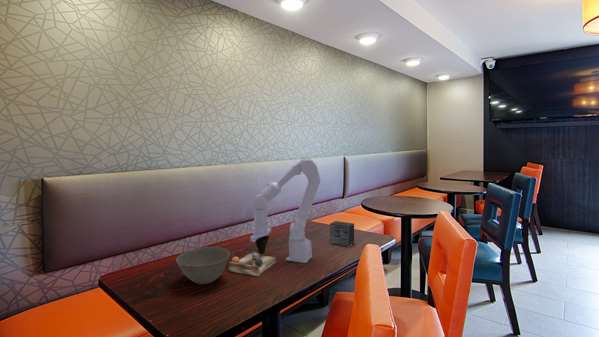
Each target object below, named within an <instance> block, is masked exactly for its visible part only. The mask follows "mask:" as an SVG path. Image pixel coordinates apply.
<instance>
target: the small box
mask: <svg viewBox="0 0 599 337" xmlns="http://www.w3.org/2000/svg"><path fill="white" fill-rule="evenodd" d="M329 225H330V226H329V228H330V229H329V230H330V231H329V233H330V236H329V240H330V243H333V244H332V245H334V244H338V245H337V246H340V245H344V246H343V247H346V246H350V245H351V244H353V243H354V244H355V223H354V222H353V223H352V222H345V221H337V220H335V221H333V222H330V224H329ZM354 244H353V245H354ZM350 247H351V246H350Z"/></svg>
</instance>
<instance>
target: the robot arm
mask: <svg viewBox="0 0 599 337" xmlns="http://www.w3.org/2000/svg"><path fill="white" fill-rule="evenodd" d="M302 174H304V176H305V177H306V179H307V181H308V183H307V186H306V188H305V190H304V193H303V196H302V199H301V203H300V204H299V207H298V211H297V214H296V215H295V217H294V220H293V221H292V222H291V223H290V224H289V237H288V256H287V257H286V258H285V261H290V262H297V263H302V264H303V263H304V264H306V263H308V261H309V260H311V258H313V254H312V251H313V250H312V249H313V247H312V241H311V239H307V238H306V234H305V233H306V232H305V229H306V225H307V219H308V217H309V213H310V211H311V208H312V207H313V206H312V205H313V203H314V201H315V197H316V194H317V192H318V189H319V186H320V184H321V178H320V173H319V170H318V166H317V164H316V162H315V161H314V160H313V159H311V158H310V157H304V158H303V157H302V158H301V159H300V161H297V162H296V163H294V164H293V165H292V166H291V167H289V169H288V170H287V171H286V172H285V173H284V174H282V176H281V177H280V178H279V179H278V180H277V181H271V182H268V183H267V184H266V187H265V188H264V189H263V190H259V192H258V194H257V195H255V196H254V198H253V201H252V205H253V207H254V208H253V210H254V212H253V223H254V224H253V225H254V231H252V233H251V234H252V235H251V236H250V241H249V242H251V243H255V245H256V247H257V252H258V254H259V255H263V254H265V252H266V248H267V244H268V241H269V239H270V236H268V235H269V234H272V228H270V227H269V226H268V224H269V223H268V220H269V219H268V210H267V209H268V206H267V205H268V203H270V202H271V201H273V200H274V199H275V198H276V197H277V196H278V195H279V194H281V191H282V187H283V186H284V185H286V184H287V183H288V182H289V181H290V180H291V179H293V178H294V177H295V176H299V175H302Z"/></svg>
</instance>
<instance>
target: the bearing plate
mask: <svg viewBox="0 0 599 337" xmlns="http://www.w3.org/2000/svg"><path fill="white" fill-rule="evenodd" d="M251 255H252V253H248V254H246V255H245V256H243V257H241V258H239V263H235V262H232V261H229V262H228V270H229V271H228V272H232V273H237V274H242V275H243V274H245V275H248V276H255V277H258V276H259V277H260V275H262V274H263V273H264V272H265V271H266V270H268V269H269V268H271V266H273V265H274V264H275V263H277V261H276V260H277V257H275V256H268V255H263V254H259V258H260V259H262V261H263V264H262V265H261V266H256V264H255V261H256V260H254V259H252V257H251Z"/></svg>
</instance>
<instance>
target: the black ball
mask: <svg viewBox="0 0 599 337" xmlns="http://www.w3.org/2000/svg"><path fill="white" fill-rule="evenodd" d="M255 264H256V266H261V265H262V264H263V261H262V259H260V258H258V259H256V261H255Z"/></svg>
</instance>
